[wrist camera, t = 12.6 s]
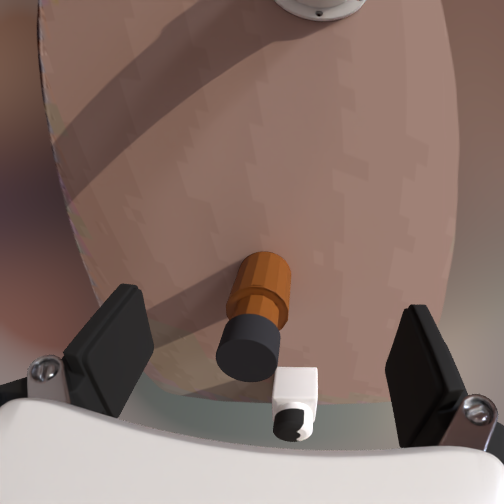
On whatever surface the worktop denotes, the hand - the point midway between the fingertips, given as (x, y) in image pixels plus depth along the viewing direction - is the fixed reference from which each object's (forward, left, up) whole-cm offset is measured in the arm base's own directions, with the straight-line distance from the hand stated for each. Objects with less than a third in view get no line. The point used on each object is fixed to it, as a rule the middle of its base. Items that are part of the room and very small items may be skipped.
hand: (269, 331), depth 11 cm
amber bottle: (+15, -3, -30) cm, 34 cm away
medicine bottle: (+36, +3, -30) cm, 47 cm away
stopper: (+15, -3, -21) cm, 26 cm away
